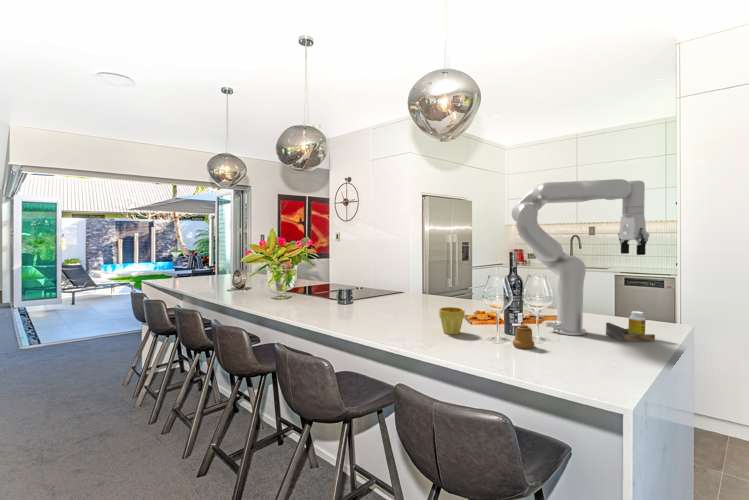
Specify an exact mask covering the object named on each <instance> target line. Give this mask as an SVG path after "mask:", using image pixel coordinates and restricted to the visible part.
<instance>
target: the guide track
mask: <svg viewBox="0 0 749 500" xmlns="http://www.w3.org/2000/svg"><path fill="white" fill-rule="evenodd" d="M605 336H607V337H609V338H612V339H613V340H615V341H618V342H622V343H623V342H626V343H627V342H629V343H630V341H645V342H655V341H656V335H655V334H652V333H649V334H646V333H645V334H633V335H628V328H624V327H622V326H618V325H616V324H614V323H611V322H605Z"/></svg>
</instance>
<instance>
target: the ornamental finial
mask: <svg viewBox="0 0 749 500" xmlns="http://www.w3.org/2000/svg"><path fill="white" fill-rule="evenodd" d="M514 330H515V331H514V333H515V334H514V338H513V340H512V345H513V347H514V348H516V349H519V350H531V349H533V348H535V342H534V340H533V329H532V328H531V327H530V326H528V325H527V324H525V323H524V324H519V326H517V327H515V329H514Z"/></svg>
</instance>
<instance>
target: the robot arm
mask: <svg viewBox="0 0 749 500" xmlns="http://www.w3.org/2000/svg"><path fill="white" fill-rule="evenodd" d="M645 190H646V189H645V181H643V180H626V179H622V178H620V179H619V178H617V179H616V178H615V179H611V178H610V179H599V180H598V179H597V180H595V179H594V180H574V181H550V182H549V181H548V182H543V183H540V184H538V185H536V186H534V187H533V188H532V189H531V190H530V191H529V192H528V193H527V194H526V195H525V196H523V197H522V198H521V199H520V201H519V202H518V203H516V204H515V205H514V206H513V208H512V209H511V218H512V219H513V221H514V222H516V223H515V224H516V231H517V233H518V235H519V237H520V238H521V240H522V241H523V242H524V243H526V244H527V245H528V246H529V247H530V248H531V249H532V253H533V255H534V257H535V258H536V259H537V260H538V261H539V262H540V263H541V264H542V265H544V266H545V267H546V268H547V269H549V270H550V271H551V272H552V273H554V274H556V275H557V276H559V278H558V284H557V303H556V304H557V305H556V309H557V312H556V313H557V314H556V317H557V318H556V319H554V321H552V322H551V321H545V323H544V324H545V325H544V326H545V327H546V328H548V327H549V328H550V327H551V328H552V331H553V332H554V333H556V334H561V335H564V336H567V335H568V336H584V335H587V334H588V333H587V331H588V330H587V329H585V328H583V322H584V321H583V320H584V319H583V318H584V315H583V314H584V282H585V277H586V272H587V270H586V268H587V267H586V265H585V262H584V261H583V260H582V259H581V258H579V257H578V256H575V255H572V254H571V255H569V254H567V253H566V252H565V251H564V248H563V247H562V245H561V243H560V242H559V241H558V240H557V239H554V238H553V236H551V235H550V234H548V233H547V232H546V231H545V230H544V229H543V228H542V227H541V226H540V225H539V222H538V216H539V211H540V209H542V208H543V207H544V206H545V205H546V204H557V203H559V204H562V203H563V204H564V203H582V202H583V203H584V202H590V201H594V200H607V201H614V200H622V206H621V207H622V208H621V209H622V212H621V213H622V215H621V217H620V221H619V232H618V233H617V236H618V240H619V244H620V254H622V255H623V254H626V255H627V254H629V253H630V244H629V242H630V241H634V240H635V242H636V243H637V244H636V255H637V256H645V255H646V246H647V242H648V240H649V237H650V233H649V232H648V231H646V230H647V225H646V219H645Z"/></svg>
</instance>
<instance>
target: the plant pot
mask: <svg viewBox="0 0 749 500" xmlns="http://www.w3.org/2000/svg"><path fill="white" fill-rule="evenodd" d="M465 313H466V310H465V309H464V308H462V307H458V306H457V307H454V306H446V307H441V308H439V310H438V316H439V318H440V321H441V322H440V323H441V325H442V332H443V334H444V335H445V334H446V335H453V336H454V335H459V334H460V333H461V328H462V325H463V319H465Z"/></svg>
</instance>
